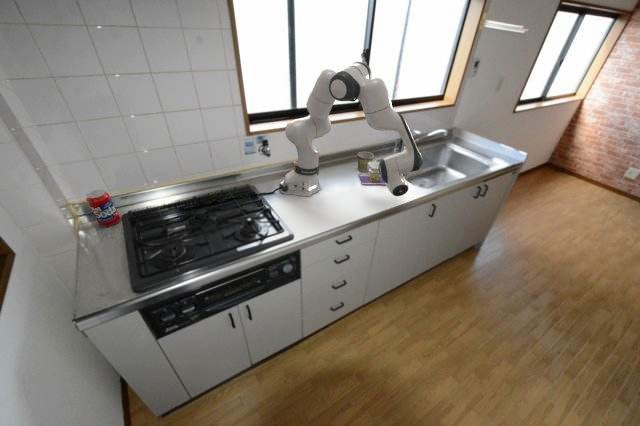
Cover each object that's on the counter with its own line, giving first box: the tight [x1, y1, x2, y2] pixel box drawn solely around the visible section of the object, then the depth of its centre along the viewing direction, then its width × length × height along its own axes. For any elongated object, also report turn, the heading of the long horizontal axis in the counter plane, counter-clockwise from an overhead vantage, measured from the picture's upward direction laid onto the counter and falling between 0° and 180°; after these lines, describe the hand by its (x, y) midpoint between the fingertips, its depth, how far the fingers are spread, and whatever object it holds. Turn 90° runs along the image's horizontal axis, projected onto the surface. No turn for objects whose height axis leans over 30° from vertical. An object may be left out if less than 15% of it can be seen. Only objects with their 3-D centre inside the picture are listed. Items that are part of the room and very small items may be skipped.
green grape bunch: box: [369, 172, 380, 182], centre depth 159 cm, size 6×6×11 cm
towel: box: [358, 174, 386, 186], centre depth 163 cm, size 15×12×1 cm
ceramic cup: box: [357, 151, 375, 173], centre depth 172 cm, size 13×10×10 cm
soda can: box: [85, 189, 121, 227], centre depth 116 cm, size 8×8×15 cm
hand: (384, 161), depth 143 cm, fingers open, 8 cm apart
